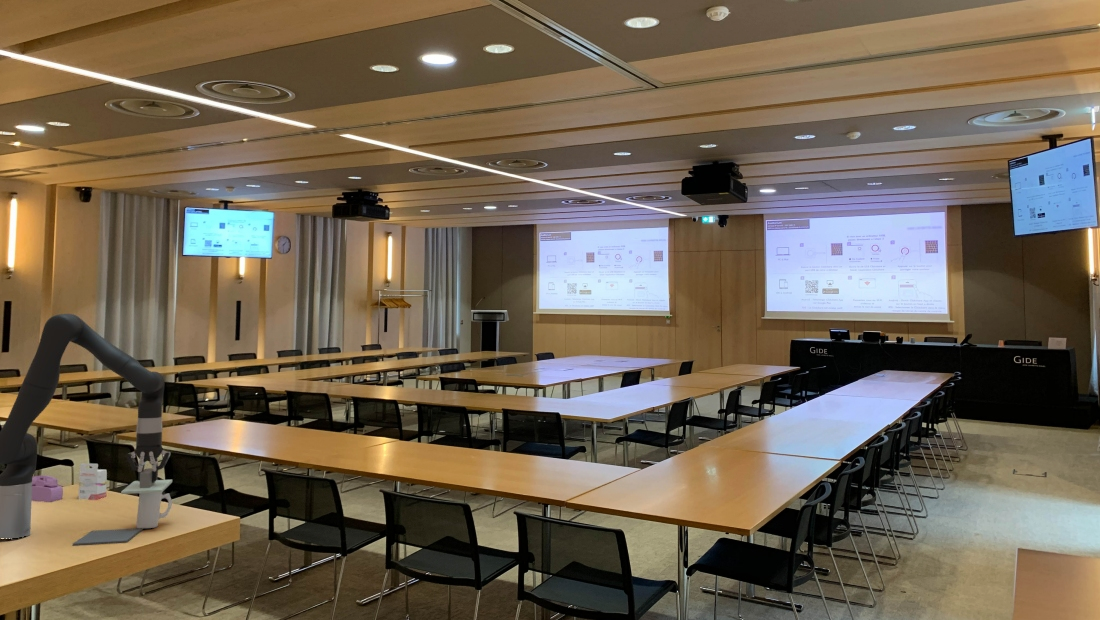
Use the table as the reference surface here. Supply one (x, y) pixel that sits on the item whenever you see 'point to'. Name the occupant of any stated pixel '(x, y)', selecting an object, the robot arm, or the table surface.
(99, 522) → the table surface
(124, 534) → the rubber mat
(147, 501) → the mug
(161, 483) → the cover plate
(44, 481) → the toy telephone
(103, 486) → the ink cartridge box
